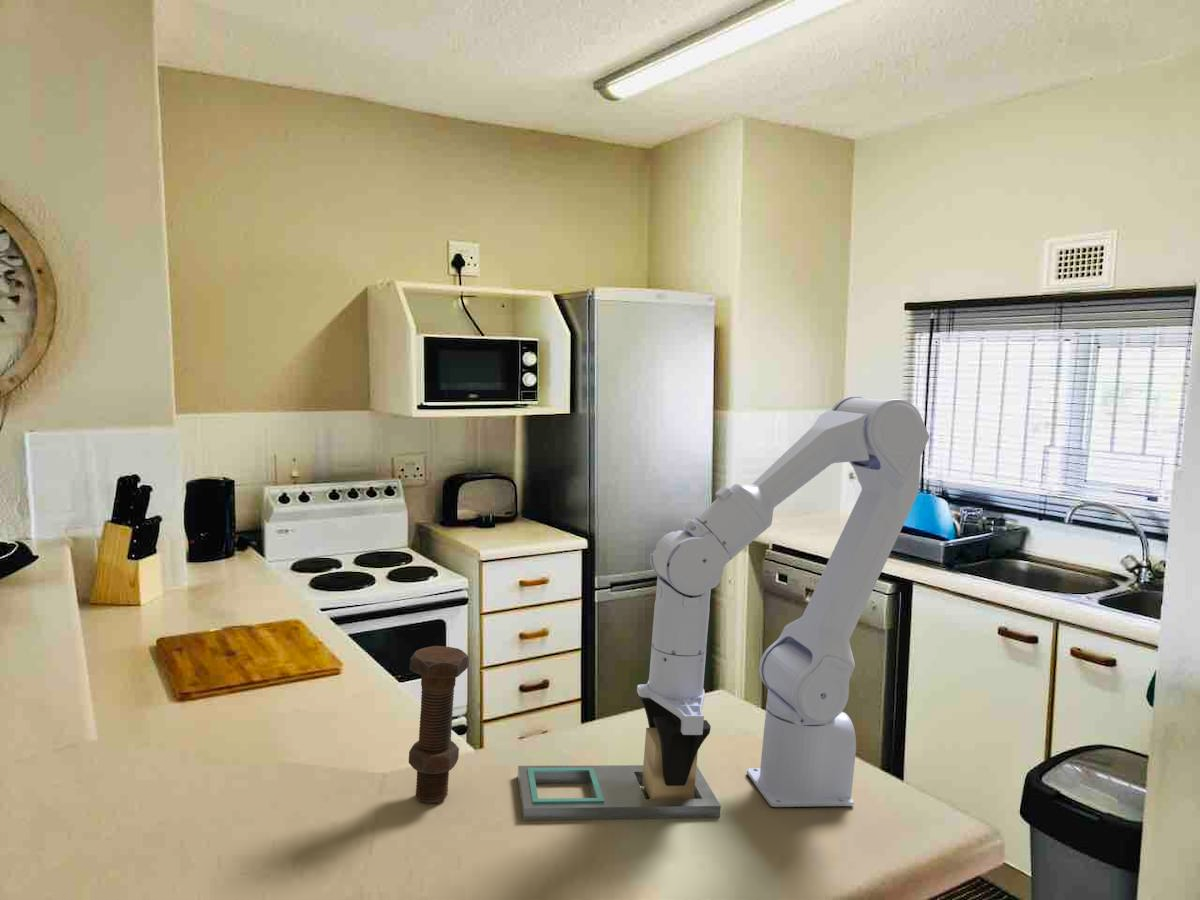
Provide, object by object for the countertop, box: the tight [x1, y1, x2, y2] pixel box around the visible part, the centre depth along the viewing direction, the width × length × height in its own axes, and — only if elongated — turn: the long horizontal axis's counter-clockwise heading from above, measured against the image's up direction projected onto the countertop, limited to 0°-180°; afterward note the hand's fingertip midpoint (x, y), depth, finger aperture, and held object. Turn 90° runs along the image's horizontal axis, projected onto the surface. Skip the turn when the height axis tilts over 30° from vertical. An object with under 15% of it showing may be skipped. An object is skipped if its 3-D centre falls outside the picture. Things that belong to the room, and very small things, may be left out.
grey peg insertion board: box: [517, 764, 722, 821], centre depth 88 cm, size 20×9×1 cm, turn 99°
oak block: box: [641, 727, 699, 799], centre depth 89 cm, size 4×4×6 cm
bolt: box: [408, 645, 470, 804], centre depth 85 cm, size 6×5×15 cm
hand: (668, 772), depth 89 cm, fingers closed on oak block, 4 cm apart
